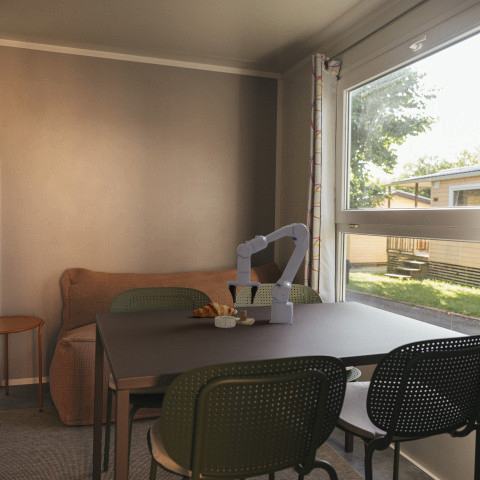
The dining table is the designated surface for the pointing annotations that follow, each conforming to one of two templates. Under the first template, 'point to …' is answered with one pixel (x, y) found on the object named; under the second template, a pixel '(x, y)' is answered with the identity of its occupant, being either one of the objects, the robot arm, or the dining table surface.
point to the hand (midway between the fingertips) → (243, 303)
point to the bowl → (225, 321)
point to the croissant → (214, 310)
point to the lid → (243, 318)
